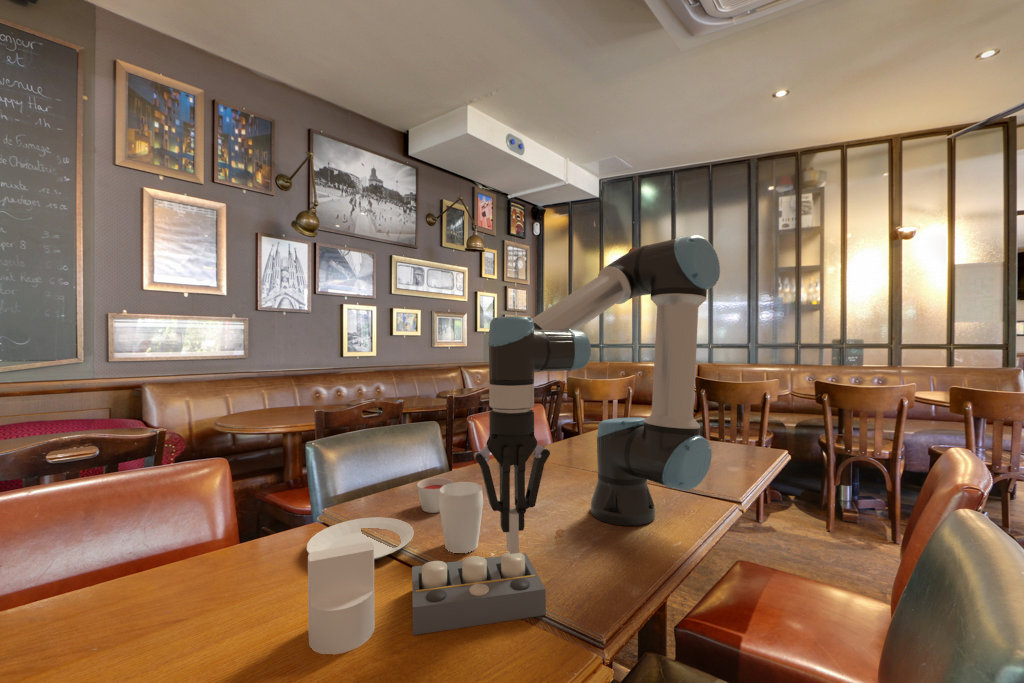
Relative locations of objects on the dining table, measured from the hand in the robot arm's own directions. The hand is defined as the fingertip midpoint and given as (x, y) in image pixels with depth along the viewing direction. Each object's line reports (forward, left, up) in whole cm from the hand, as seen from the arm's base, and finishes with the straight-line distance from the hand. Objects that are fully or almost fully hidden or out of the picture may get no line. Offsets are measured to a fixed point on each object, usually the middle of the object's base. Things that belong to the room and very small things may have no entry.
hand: (512, 549), depth 75 cm
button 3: (+13, 0, -5) cm, 14 cm away
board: (+6, +1, -7) cm, 10 cm away
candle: (+10, -42, -8) cm, 44 cm away
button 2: (+6, 0, -5) cm, 8 cm away
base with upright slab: (+26, +4, -8) cm, 28 cm away
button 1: (0, 0, -5) cm, 5 cm away
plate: (+26, -24, -8) cm, 37 cm away
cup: (+6, -19, -8) cm, 21 cm away
